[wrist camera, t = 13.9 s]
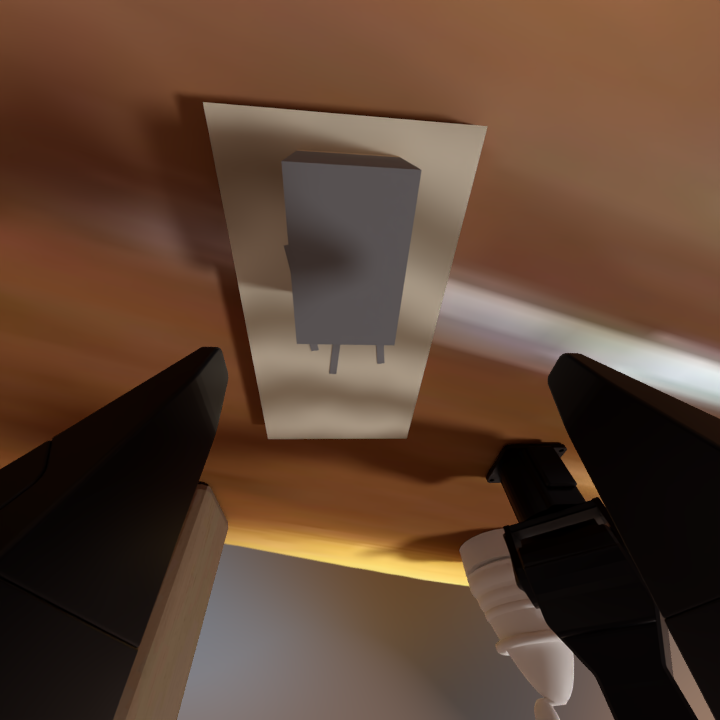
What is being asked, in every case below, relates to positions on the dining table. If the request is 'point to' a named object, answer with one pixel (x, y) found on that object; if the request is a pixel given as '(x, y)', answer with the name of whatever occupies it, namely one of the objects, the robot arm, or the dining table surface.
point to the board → (273, 275)
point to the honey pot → (518, 622)
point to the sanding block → (348, 243)
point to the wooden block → (176, 616)
